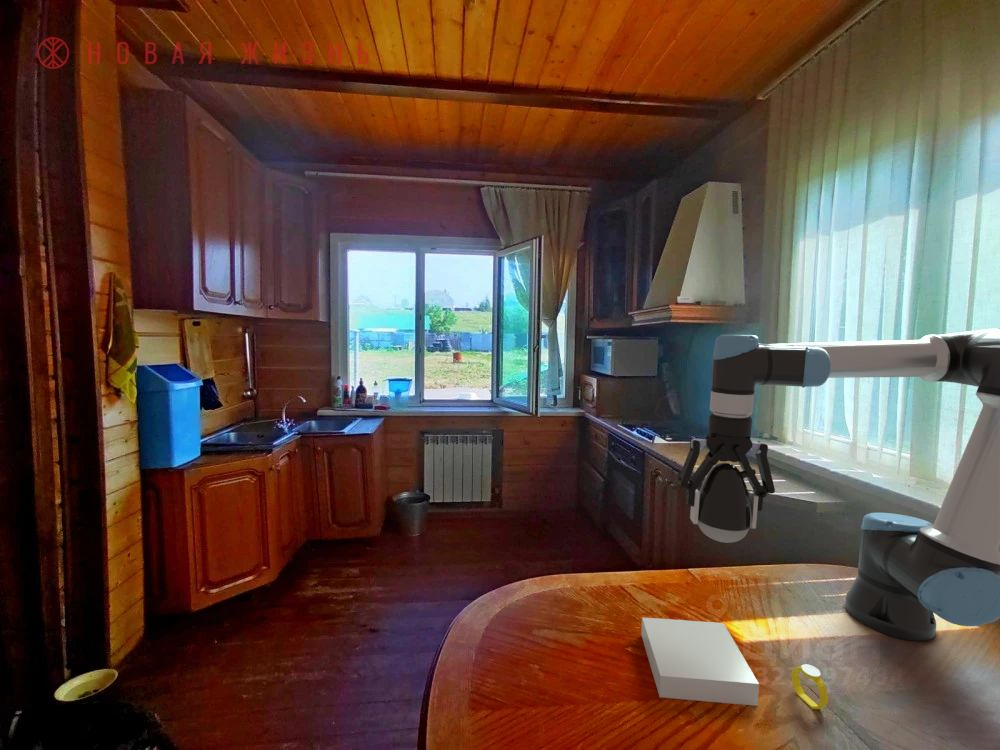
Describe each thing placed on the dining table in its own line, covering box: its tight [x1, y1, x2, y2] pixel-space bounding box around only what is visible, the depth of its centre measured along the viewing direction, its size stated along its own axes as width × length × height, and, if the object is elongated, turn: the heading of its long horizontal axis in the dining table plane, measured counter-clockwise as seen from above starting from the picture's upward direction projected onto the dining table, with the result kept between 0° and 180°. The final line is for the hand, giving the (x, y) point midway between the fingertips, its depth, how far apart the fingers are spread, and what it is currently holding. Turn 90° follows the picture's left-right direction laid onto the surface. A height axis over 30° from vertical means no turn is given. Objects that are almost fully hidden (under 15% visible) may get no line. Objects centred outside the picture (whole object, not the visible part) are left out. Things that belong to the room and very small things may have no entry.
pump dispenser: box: [697, 462, 757, 544], centre depth 91 cm, size 10×10×15 cm
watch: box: [790, 663, 829, 710], centre depth 78 cm, size 6×3×6 cm, turn 12°
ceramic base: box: [640, 617, 760, 707], centre depth 86 cm, size 16×16×4 cm
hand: (722, 523), depth 91 cm, fingers closed on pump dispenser, 10 cm apart
